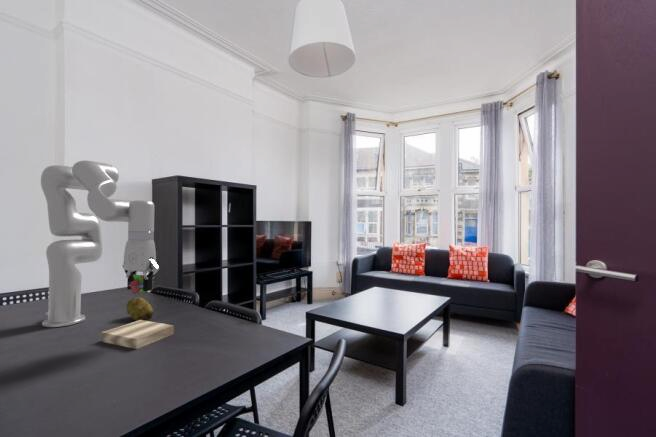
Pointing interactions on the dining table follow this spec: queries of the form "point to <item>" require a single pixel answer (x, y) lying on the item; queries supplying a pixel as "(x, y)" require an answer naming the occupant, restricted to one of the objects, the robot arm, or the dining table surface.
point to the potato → (139, 309)
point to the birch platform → (137, 334)
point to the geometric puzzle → (137, 284)
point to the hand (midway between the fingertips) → (139, 289)
